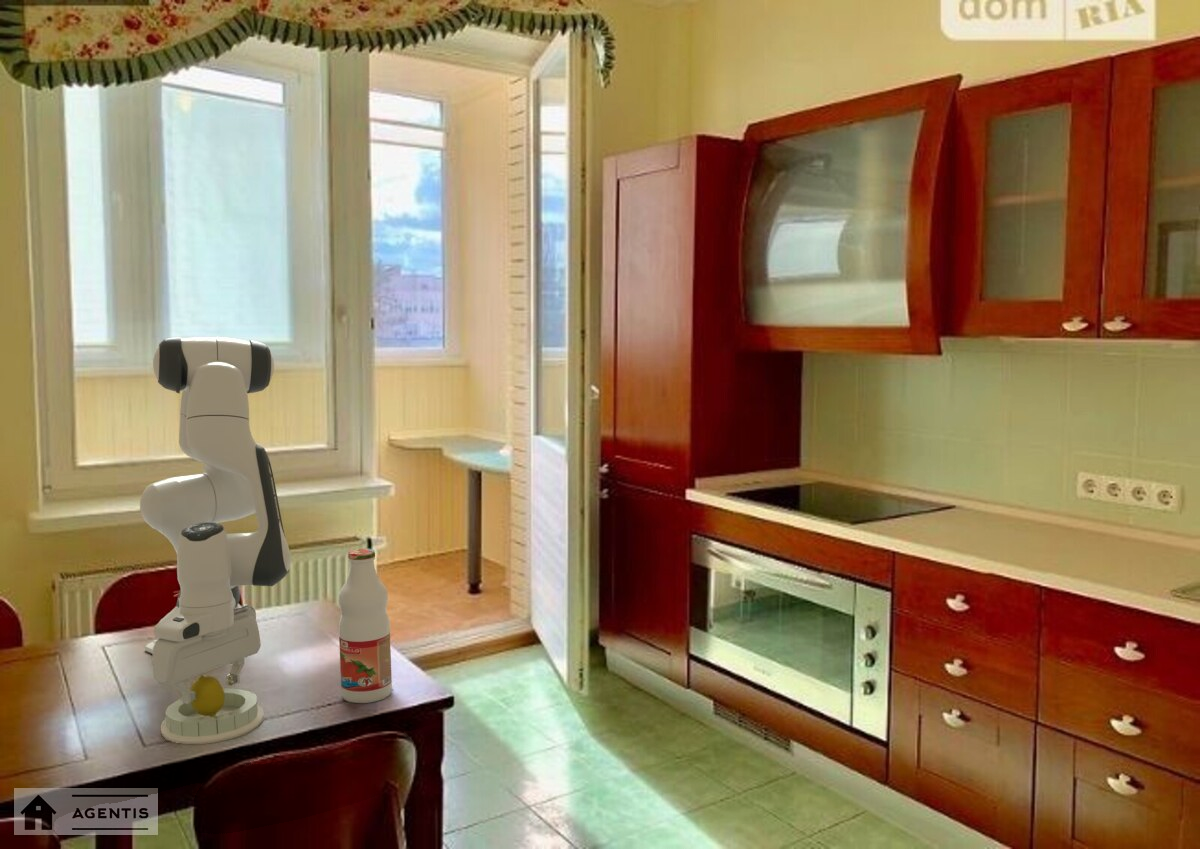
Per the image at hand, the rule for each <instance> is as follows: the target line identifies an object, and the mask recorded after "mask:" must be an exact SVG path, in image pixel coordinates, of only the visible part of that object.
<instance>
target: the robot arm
mask: <svg viewBox="0 0 1200 849" xmlns="http://www.w3.org/2000/svg"><path fill="white" fill-rule="evenodd" d="M152 360H153V361H152V369H153V373H154V375H155V378H156V379H157V382H158V384H159V385H160V386H162V387H163V388H164V389H167V390H169V391H171V392H172V391H173V392H175V393H177V394H180V393H181V399H180V400H181V401H180V410H179V430H178V443H179V447H180V449H181V451H182V452H183V454H185V455H186V456H187V457H188V458H191V459H193V460H194V461H198V462H200V463H203V466H204V467H203V472H201V473H197V474H190V475H189V474H188V475H182V476H174V477H168V478H164V479H162V480H158V481H156V482H152V483H150V484H148V485H147V486H146V487H145V489H144V490H143V492H142V494H141V497H140V499H139V500H140V501H139V510H140V514H141V516H142V519H143V520H144V521H145V523H146V524H147V525H148V526H149V527H151V528H152V529H154V530H156V531H157V532H159V533H161V534H162V535H163V536H164V537H165V538H166V539H168V541H169V543H170V544H171V545H172V546H173V548H174V550H175V553H176V555H177V557H176V558H177V559H176V573H177V574H176V575H177V577H176V578H177V581H178V584H179V587H180V590H176V591H173V593H174V595H173V597H174V598H175V597H176V598H177V601H176V605H175V607H174V608H173V609H172V610H170V612H168V613H167V614H166V615H165V616H164V617H163V618H161V619H160V620H159V621H158V623H156V625H155V626H154V627H153V635H154V636H153V637H155V638H156V639H155V640H152V641H151V642H149V643H147V644H146V645H145V651H146V652H148V653H150V654H152V676H153V679H154V681H156V682H157V683H158V684H160V685H163V686H168V687H169V686H170V687H171V686H174V687H176V689H177V690H178V691H179V693H180V694H181V698H182V702H183V703H185V704H189V703H191V702H193V701H195V700H196V698H195V692H194V691H190V690H191V689H190V688H189V687H188V685H190V679H192V678H195V677H198V676H201V675H204V674H206V673H208V672H211V671H213V670H216V669H219V668H221V667H224V666H227V665H229V664H231V665H232V666H231V669H230V671H229V673H228V674H227V675H226V685H228V686H231V687H232V686H235V685H238V684H240V682H241V681H240V678H241V677H240V674H241V673H242V670H243V668H244V665H245V658H248V657H251V656H253V655H256V654H258V653H259V651H260V649H261V647H262V645H261V635H260V630H259V626H258V621H257V612H256V609H255V608H254V606H251V605H249V604H243V605H241V604H240V603H239V602H240V599H241V598H240V594H241V593H240V586H254V587H255V586H257V587H273V586H275V585H277V584H278V583H279V582H280V581H282V580H283V579H284V578H285V577H286V576H287V575H288V574H289V572H290V567H291V562H292V560H291V550H290V547H289V544H288V541H287V539H286V535H285V530H284V525H283V520H282V515H281V510H280V505H279V500H278V495H277V494H278V493H277V487H276V483H275V477H274V473H273V469H272V465H271V464H272V463H271V462H270V457H269V455H268V453H267V451H266V449H265V447H263V446H261V445H259V444H257V443H256V441H255V439H254V437H253V435H252V432H251V428H250V407H249V404H250V403H249V397H248V394H252V393H253V394H254V393H258V392H262V391H264V390H265V389H266V388H268V387H269V386H270V382H271V381H272V379H273V376H274V371H275V363H274V358H273V355H272V353H271V349H270V348H269V347H268V346H267V345H266V344H265V343H263V342H260V341H256V340H251V339H250V340H249V341H247V340H242V339H237V338H229V337H220V336H216V337H187V338H182V337H181V336H177V337H175V336H174V337H169V338H164V339H163V340H162V341H161V342H159V343H158V347H157V349H156V351H155V353H154V355H153V359H152ZM181 391H182V392H181ZM253 514H255V515H256V520H257V526H258V528H257V530H256V531H253V532H252V531H251V532H238V533H237V532H236V533H233V532H232V533H227V531H226V528H225V526H224V525H222V524H220V523H225V522H231V521H238V520H240V519H243V518H246V517H248V516H251V515H253ZM175 593H177V594H175Z"/></svg>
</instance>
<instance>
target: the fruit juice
mask: <svg viewBox="0 0 1200 849" xmlns="http://www.w3.org/2000/svg"><path fill="white" fill-rule="evenodd" d="M347 553H348V556H347V558H348V559H347V560H348V562H349V564H350V565H349V570H348V573H347V578H346V580H345V583H343V585H342V587H341V589H340V590H339V593H338V606H339V609H340V612H341V616H340V619H339V622H338V640H339V642H338V643H339V662H340V663H339V664H340V665H339V667H340V684H341V685H340V688H341V690H340V691H341V696H342V698H343V699H344V700H345V701H346V702H349V703H354V704H368V703H374V702H375V703H376V702H378V701H381V700H384V699H386V698H387V697H388V696H390V695H391V692H392V688H393V683H392V682H393V681H392V680H393V679H392V678H393V677H392V658H391V657H392V655H391V653H392V650H391V626H390V619H389V615H388V613H387V606H388V601H389V594H388V590H387V587H386V586H385V584H384V583H383V582H382V581H381V580H380V579H379V576H378V573H377V571H376V568H375V564H374V563H375V562H374V560H375V559H376V558H375V557H376V551H375V550H374V549H372V548H357V549H351V550H350V551H348V552H347Z"/></svg>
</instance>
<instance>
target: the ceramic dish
mask: <svg viewBox="0 0 1200 849" xmlns="http://www.w3.org/2000/svg"><path fill="white" fill-rule="evenodd" d="M223 691H224V695H225V701H224V704H223V707H222V708H221V710H220V711H219V712H217V714H216V716H213V717H210V716H203V715H200V714H198V713H197V712H196V711H195V710H194V708H193V706H192V704H191V703H189V704H185V703H183V702H182V697H181V698H178V699H177V700H175V701H174V702H173V703H170V705H168V706H167V707H166V710H165V713H164V714H165V715H164V716H165V719H164V720H163V721H162V722H161V724H160V734H162V735H161V736H163V737H164V738H166V739H167V740H166V739H165V740H166V741H168V740H170V741H172V742H171V743H173V742H178V743H184V744H183V745H187V744H196V745H197V744H198V745H208V744H215V743H219V742H224V741H229V740H232V739H235V738H238V737H241V736H243V735H246V734H248V733H250V732H252V731H254V730H255V729H257V728H258V727H259V726H260V725H261V724H262V723H263V721H264V719H265V717H264V716H265V714H264V711H265V710H264V709H263V707H262V706H261V705H260V704H259V702H258V701H259V700H258V696H257V695H256V694H255V693H254V692H253V691H249V690H245V689H240V688H223ZM163 737H162V738H163ZM164 738H163V739H164ZM170 741H169V742H170ZM178 743H177V744H178Z"/></svg>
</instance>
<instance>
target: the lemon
mask: <svg viewBox="0 0 1200 849" xmlns="http://www.w3.org/2000/svg"><path fill="white" fill-rule="evenodd" d="M223 689H224V688H223V686H222V684H221V683H220V681H219V680H218V679H217V678H215V677H213V676H210V675H199V677H198V678H197V679H196V680H195V681H194V682H193V683H192V684H191V687H190V689H189V690H190V691H194V692H195V698H196V700H195V701H193V702H191V704H192V706H193V708H194V710H195V711H196V712H197V713H198V714H200V715H203V716H210V717H213V716H216V714H217V712H219V711H220V710H221V708H222V707H223V704H224V701H225V695H224V691H223Z"/></svg>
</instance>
